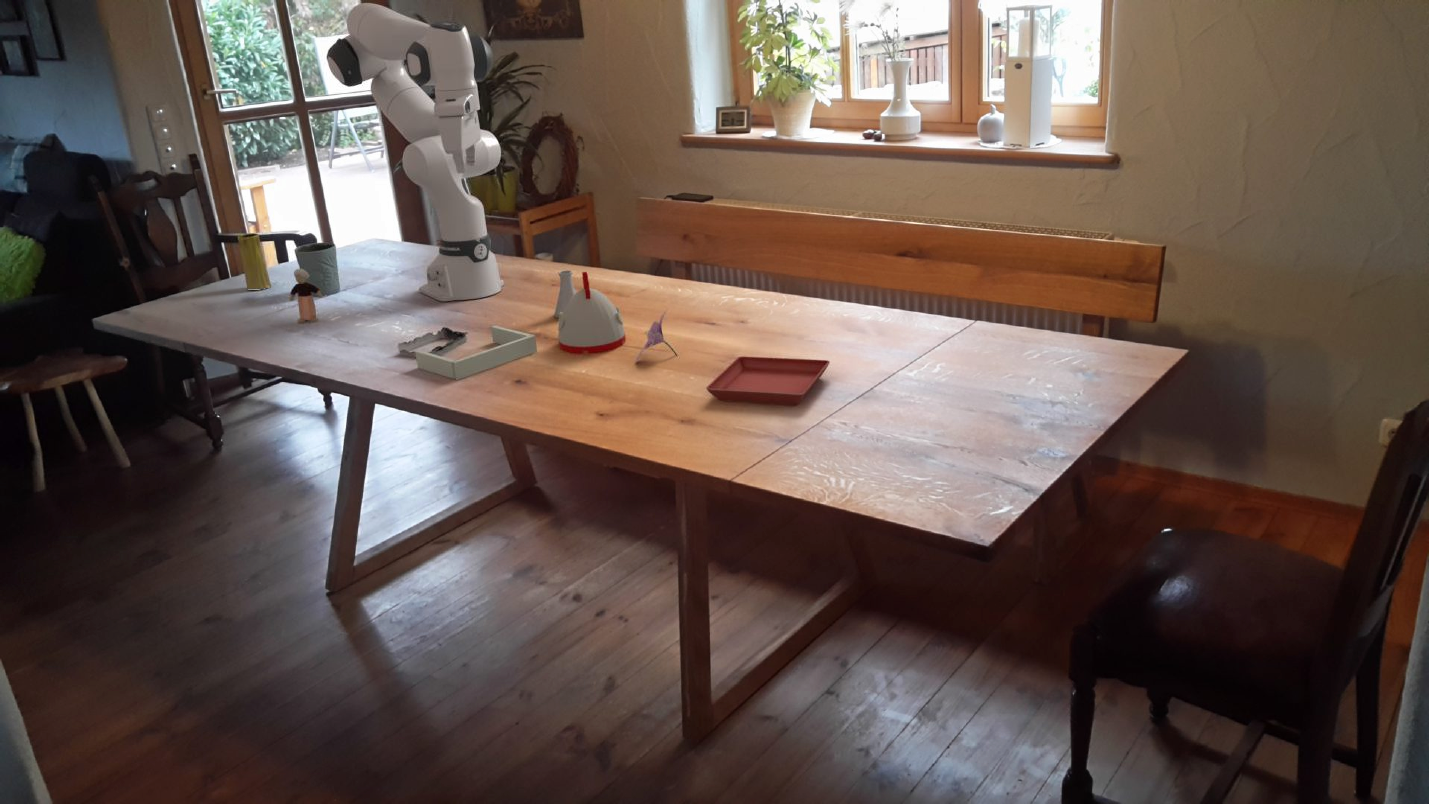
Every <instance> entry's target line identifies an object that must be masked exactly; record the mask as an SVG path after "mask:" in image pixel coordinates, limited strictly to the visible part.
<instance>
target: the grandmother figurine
mask: <svg viewBox="0 0 1429 804" xmlns="http://www.w3.org/2000/svg"><path fill="white" fill-rule="evenodd" d="M293 276H294V278H295V281H296V282H297V283H296V284H295V285H294V286H293V287H292V289H291V291H290V293H289V294H290V296H289V301H291V302H293V301H295V297H296V295H297V305H298V313H299V314H298V315H299V319H298V320H297V324H298V323H299V324H303V323H306V322H308V323H315V322H318V317H317V310H316V309H317V308H316V304H315V299H314V297H313V296H312V294H311V292H312V293H315V294H317V295H318V299H322V298H323V297H324V296H323V295H322V294H321V292H320V291H319V289H318V288H317V287H316V286H314V285H312V284H309V283H306V282H307V279H308V278H309V276H310V275H309V274H308V273H307V271H305V270H303V269H300V268H297V269H295V270H294V272H293Z"/></svg>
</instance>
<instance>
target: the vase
mask: <svg viewBox="0 0 1429 804" xmlns="http://www.w3.org/2000/svg"><path fill="white" fill-rule="evenodd" d="M260 239H261V238H260V235H259V234H258V233H254V232H252V233H251V232H250V233H244V234H240V235H237V240H238V244H239V250H240V255H241V256H240V257H241V260H242V265H243V271H244V277H245V283H246V290H247V289H264V288H268V287H269V286H271V287H272V284H271V280H270V277H269V273H268V269H267V266H266V265H267V264H266V262H265V258H264V254H263V248H262V245H261V244H262V243H261V240H260ZM268 289H269V288H268Z"/></svg>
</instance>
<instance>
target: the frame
mask: <svg viewBox="0 0 1429 804" xmlns="http://www.w3.org/2000/svg"><path fill="white" fill-rule="evenodd" d="M490 328H491V329H490V330H491V334H492V343H494V344H497V345H498V344H499V345H498V346H495V347H492V348H490V349H486V350H483V351H479V352H478V353H474V354H472V355H468V356H466V357H463V358H459V359H457V360H455V359H452V358H448V357H445V356H442V355H439V356H438V355H435V354H431V353H428V352H429V351H423V350H421V349H418V350H416V351H415V350H414V352H415V354H416V356H415V358H416V364H417V368H418V369H420V370H423V371H424V370H425V371H426V372H427V371H428V372H430V373H433V374H437V375H440V376H444V377H445V378H446V377H447V378H450V379H453V380H456V381H459V380H461V379H465V378H467V377H470V376H472V375H476V374H478V373H482V372H484V371H486V370H490V369H492V368H495V367H498V366H501V365H505V364H506V363H509V362H512V361H515V360H518V359H520V358H523V357H526V356H528V355H532V354H535V353H537V352H538V349H537V340H536V335H534V334H531V333H526V332H522V331H518V330H514V329H510V328H507V327H502V326H498V325H493V326H490Z"/></svg>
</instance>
